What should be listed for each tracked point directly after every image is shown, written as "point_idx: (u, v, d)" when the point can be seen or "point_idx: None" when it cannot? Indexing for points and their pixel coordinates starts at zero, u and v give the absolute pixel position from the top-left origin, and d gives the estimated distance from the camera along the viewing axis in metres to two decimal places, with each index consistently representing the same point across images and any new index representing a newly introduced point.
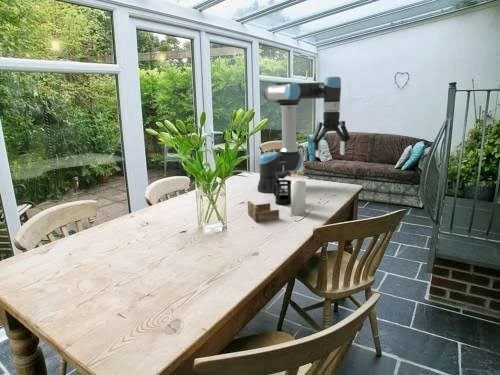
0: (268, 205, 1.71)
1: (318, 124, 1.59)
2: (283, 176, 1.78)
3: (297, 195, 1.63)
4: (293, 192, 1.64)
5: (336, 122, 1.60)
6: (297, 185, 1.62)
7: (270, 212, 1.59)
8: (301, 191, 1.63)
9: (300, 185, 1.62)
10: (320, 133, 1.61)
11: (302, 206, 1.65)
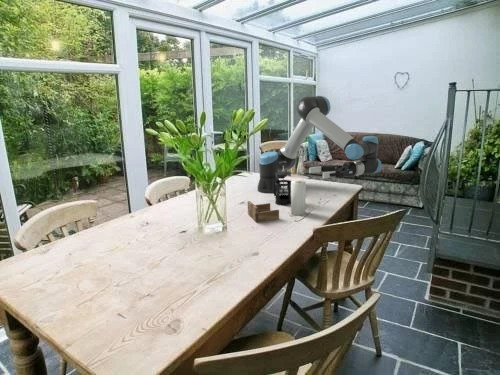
0: (268, 205, 1.71)
1: (351, 172, 1.65)
2: (283, 176, 1.78)
3: (297, 195, 1.63)
4: (293, 192, 1.64)
5: None
6: (297, 185, 1.62)
7: (270, 212, 1.59)
8: (301, 191, 1.63)
9: (300, 185, 1.62)
10: (341, 171, 1.65)
11: (302, 206, 1.65)
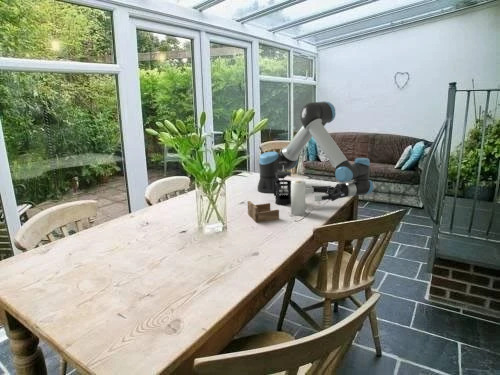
0: (268, 205, 1.71)
1: (343, 194, 1.66)
2: (283, 176, 1.78)
3: (297, 195, 1.63)
4: (293, 192, 1.64)
5: None
6: (297, 185, 1.62)
7: (270, 212, 1.59)
8: (301, 191, 1.63)
9: (300, 185, 1.62)
10: (333, 193, 1.66)
11: (302, 206, 1.65)
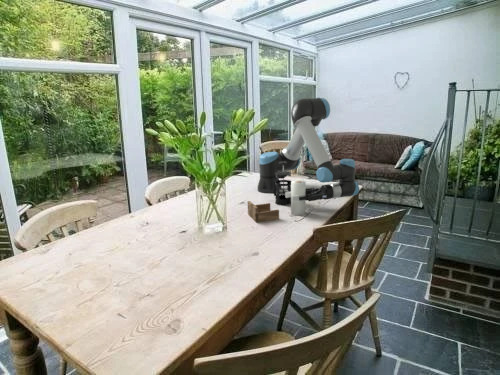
0: (268, 205, 1.71)
1: (324, 196, 1.64)
2: (283, 176, 1.78)
3: None
4: (293, 192, 1.64)
5: None
6: (297, 185, 1.62)
7: (270, 212, 1.59)
8: (301, 191, 1.63)
9: (300, 185, 1.62)
10: (313, 194, 1.65)
11: (302, 206, 1.65)
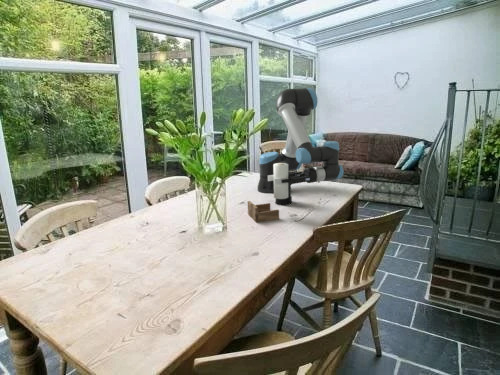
0: (268, 205, 1.71)
1: (308, 179, 1.58)
2: None
3: (279, 177, 1.57)
4: (275, 175, 1.58)
5: None
6: (279, 167, 1.56)
7: (270, 212, 1.59)
8: (283, 173, 1.57)
9: (283, 167, 1.56)
10: (296, 177, 1.60)
11: (285, 189, 1.59)
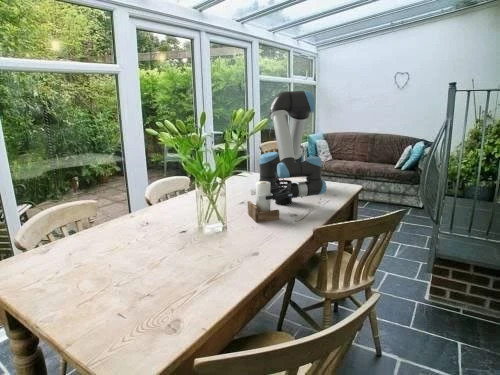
0: None
1: (290, 194, 1.60)
2: None
3: None
4: (257, 193, 1.60)
5: None
6: (261, 186, 1.58)
7: (270, 212, 1.59)
8: (265, 192, 1.59)
9: (264, 186, 1.58)
10: (280, 193, 1.60)
11: (266, 207, 1.61)
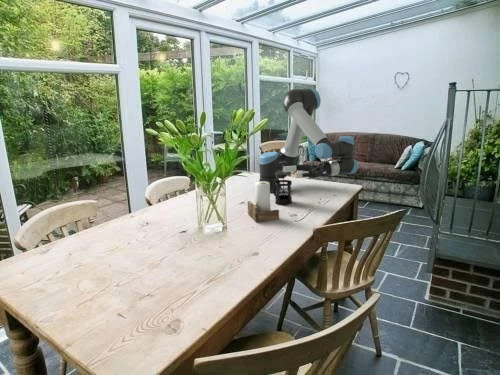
0: None
1: (325, 172, 1.63)
2: (283, 176, 1.78)
3: (261, 196, 1.59)
4: (257, 193, 1.60)
5: None
6: (260, 186, 1.58)
7: (270, 212, 1.59)
8: (264, 192, 1.59)
9: (263, 186, 1.58)
10: (315, 171, 1.63)
11: (266, 208, 1.61)
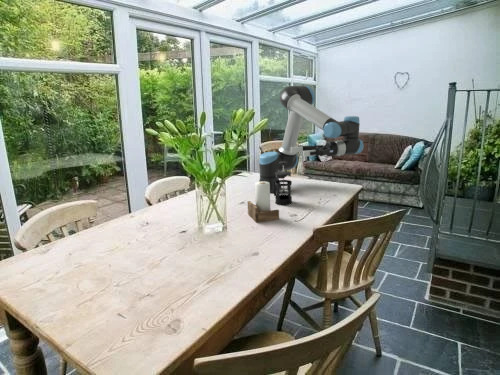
0: None
1: (332, 151, 1.65)
2: (283, 176, 1.78)
3: (261, 196, 1.59)
4: (257, 193, 1.60)
5: None
6: (260, 186, 1.58)
7: (270, 212, 1.59)
8: (264, 192, 1.59)
9: (263, 186, 1.58)
10: (322, 150, 1.65)
11: (266, 208, 1.61)
